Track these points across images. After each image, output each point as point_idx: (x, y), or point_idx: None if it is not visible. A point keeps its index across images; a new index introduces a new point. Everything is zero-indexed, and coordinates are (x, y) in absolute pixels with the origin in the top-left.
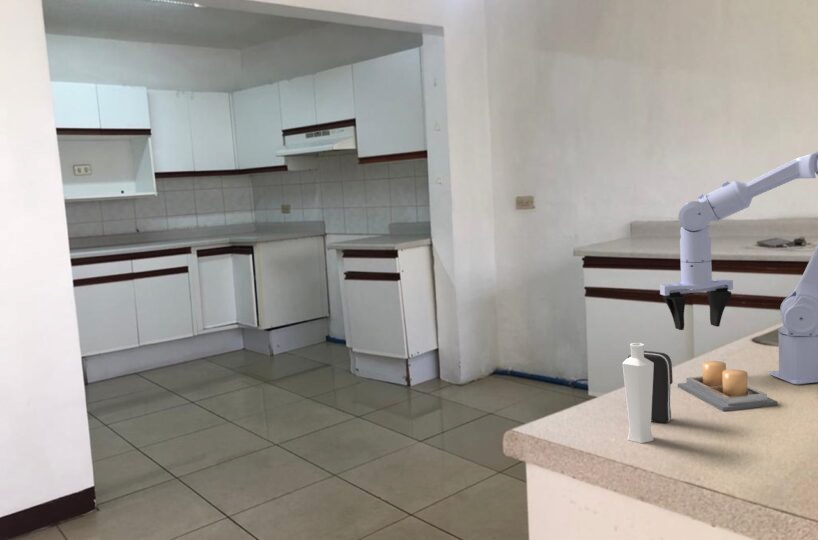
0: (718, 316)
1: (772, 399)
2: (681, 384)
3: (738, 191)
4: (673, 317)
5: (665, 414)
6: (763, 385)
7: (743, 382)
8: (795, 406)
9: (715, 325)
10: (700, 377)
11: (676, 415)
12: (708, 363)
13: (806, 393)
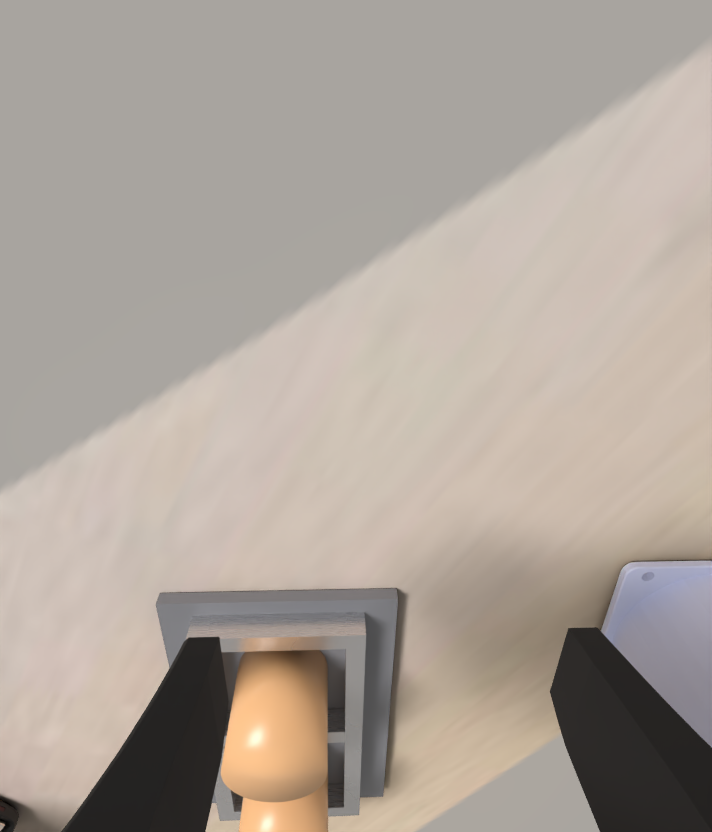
0: (598, 809)
1: (383, 783)
2: (167, 616)
3: None
4: (132, 748)
5: None
6: (489, 653)
7: None
8: (419, 796)
9: (554, 690)
10: (248, 650)
11: (49, 791)
12: (250, 767)
13: (541, 735)
